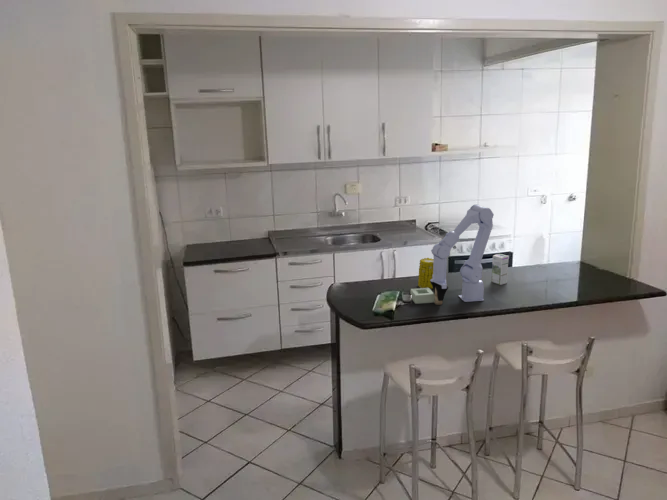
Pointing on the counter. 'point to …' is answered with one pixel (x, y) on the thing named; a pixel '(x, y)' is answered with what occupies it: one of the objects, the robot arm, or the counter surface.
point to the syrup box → (499, 269)
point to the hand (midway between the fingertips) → (438, 298)
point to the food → (425, 273)
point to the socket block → (422, 295)
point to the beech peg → (437, 299)
